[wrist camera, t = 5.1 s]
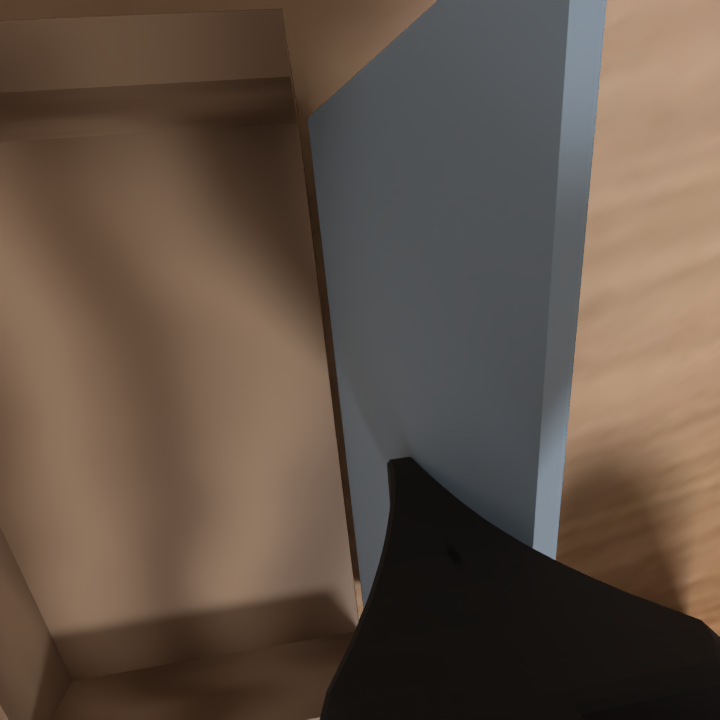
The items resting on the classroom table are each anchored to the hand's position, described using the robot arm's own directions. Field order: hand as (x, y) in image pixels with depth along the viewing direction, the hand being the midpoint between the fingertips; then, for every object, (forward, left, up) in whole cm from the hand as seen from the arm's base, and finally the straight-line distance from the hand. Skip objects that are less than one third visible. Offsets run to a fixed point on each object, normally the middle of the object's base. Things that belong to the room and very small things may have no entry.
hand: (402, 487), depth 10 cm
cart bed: (-9, 0, -5) cm, 10 cm away
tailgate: (-1, 0, -4) cm, 4 cm away
